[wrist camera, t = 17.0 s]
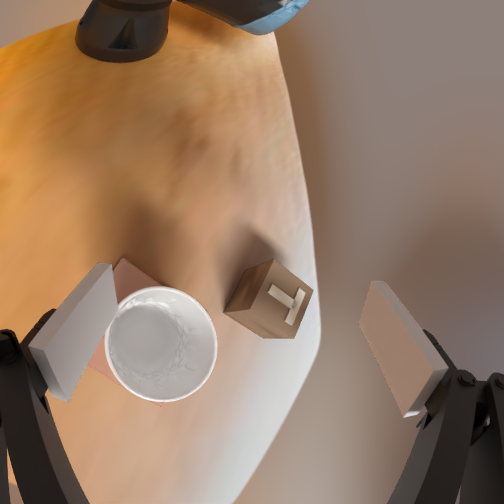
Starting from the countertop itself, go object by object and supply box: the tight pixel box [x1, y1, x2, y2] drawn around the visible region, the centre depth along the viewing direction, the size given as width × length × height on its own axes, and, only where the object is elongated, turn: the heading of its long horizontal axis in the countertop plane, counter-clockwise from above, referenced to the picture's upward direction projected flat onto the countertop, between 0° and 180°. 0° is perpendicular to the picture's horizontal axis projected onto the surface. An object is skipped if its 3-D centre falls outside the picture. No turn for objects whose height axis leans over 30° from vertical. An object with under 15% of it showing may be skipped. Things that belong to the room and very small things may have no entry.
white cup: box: [104, 286, 217, 402], centre depth 22 cm, size 8×8×10 cm
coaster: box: [87, 257, 164, 407], centre depth 27 cm, size 11×11×1 cm
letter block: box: [223, 259, 314, 339], centre depth 32 cm, size 6×6×6 cm
